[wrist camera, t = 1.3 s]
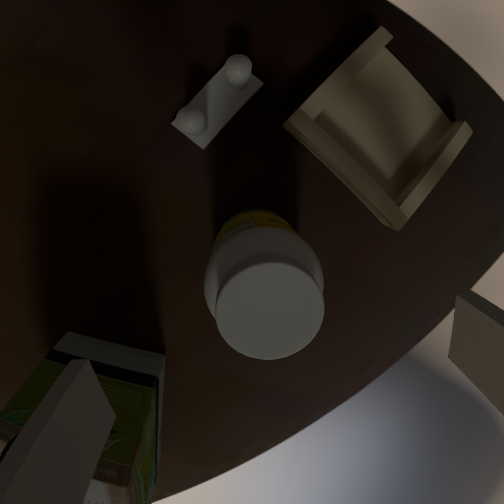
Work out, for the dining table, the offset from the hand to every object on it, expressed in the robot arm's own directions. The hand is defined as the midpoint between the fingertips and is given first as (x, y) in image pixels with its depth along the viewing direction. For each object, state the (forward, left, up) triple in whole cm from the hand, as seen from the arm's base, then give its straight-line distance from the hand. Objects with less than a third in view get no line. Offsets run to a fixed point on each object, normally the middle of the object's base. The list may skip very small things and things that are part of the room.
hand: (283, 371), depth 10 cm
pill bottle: (0, 0, -15) cm, 15 cm away
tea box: (+13, -16, -15) cm, 25 cm away
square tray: (-8, +11, -15) cm, 20 cm away
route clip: (-11, -1, -15) cm, 18 cm away
